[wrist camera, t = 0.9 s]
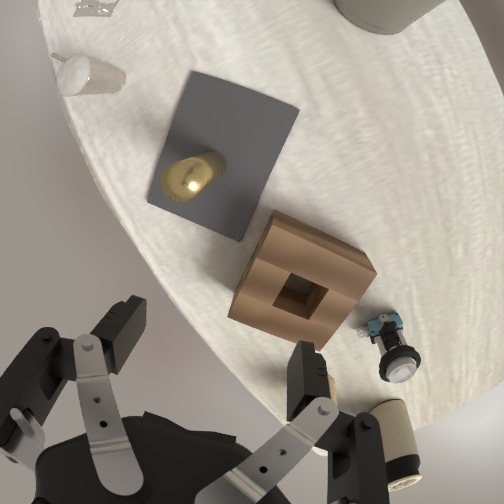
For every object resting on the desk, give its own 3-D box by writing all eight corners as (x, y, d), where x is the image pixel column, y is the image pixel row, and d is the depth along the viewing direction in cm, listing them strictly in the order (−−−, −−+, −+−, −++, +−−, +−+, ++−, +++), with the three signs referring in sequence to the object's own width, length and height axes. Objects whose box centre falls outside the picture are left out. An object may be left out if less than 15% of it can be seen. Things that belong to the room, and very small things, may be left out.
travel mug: (412, 398, 42) (432, 473, 26) (392, 419, 46) (405, 488, 29) (380, 398, 42) (396, 480, 26) (361, 419, 46) (370, 494, 30)
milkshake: (119, 52, 23) (66, 37, 14) (136, 82, 25) (82, 72, 16) (93, 76, 25) (38, 69, 16) (108, 105, 26) (52, 106, 17)
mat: (194, 72, 24) (193, 71, 24) (299, 110, 25) (299, 110, 25) (148, 201, 31) (147, 202, 31) (240, 240, 32) (239, 242, 32)
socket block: (274, 209, 30) (272, 224, 26) (365, 253, 31) (377, 273, 27) (234, 293, 35) (227, 317, 31) (316, 325, 36) (319, 351, 32)
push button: (358, 342, 37) (371, 395, 28) (353, 314, 35) (369, 369, 26) (400, 329, 35) (421, 379, 26) (399, 301, 33) (424, 351, 24)
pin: (204, 147, 28) (167, 156, 19) (230, 157, 28) (204, 171, 19) (195, 172, 29) (156, 193, 20) (220, 182, 29) (191, 208, 20)
